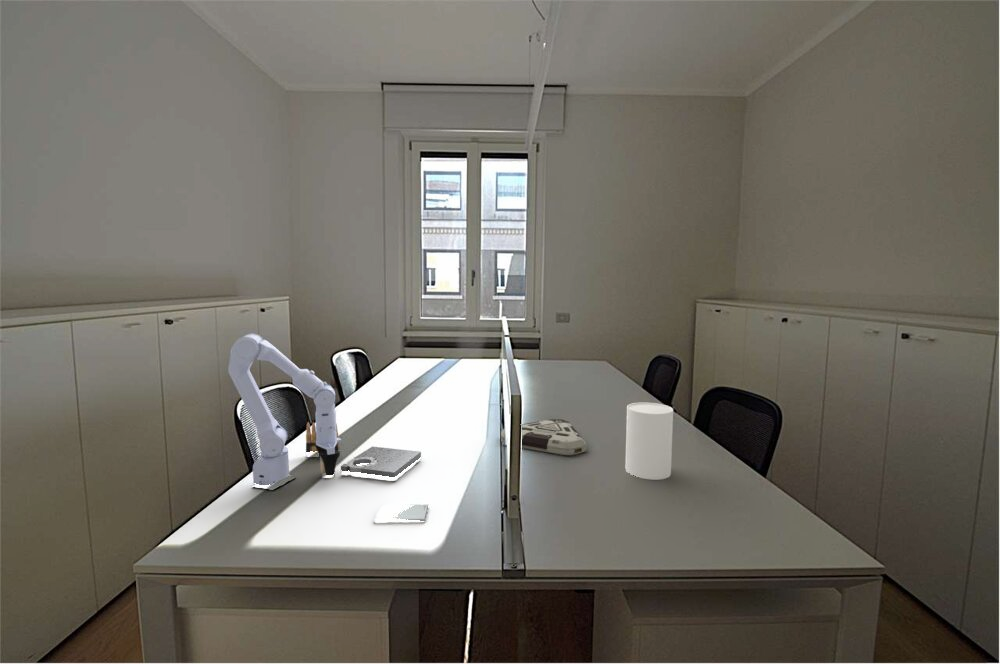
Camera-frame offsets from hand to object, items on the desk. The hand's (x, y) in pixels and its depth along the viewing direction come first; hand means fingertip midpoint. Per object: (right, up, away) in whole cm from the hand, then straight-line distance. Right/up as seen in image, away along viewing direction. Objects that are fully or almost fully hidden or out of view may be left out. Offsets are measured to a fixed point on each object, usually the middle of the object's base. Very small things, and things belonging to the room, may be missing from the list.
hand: (327, 470), depth 147 cm
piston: (0, -2, 0) cm, 2 cm away
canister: (+98, -2, +4) cm, 98 cm away
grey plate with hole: (+15, -1, +7) cm, 16 cm away
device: (+70, +1, +34) cm, 78 cm away
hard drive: (+27, -5, -24) cm, 37 cm away
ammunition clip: (-8, 0, +17) cm, 19 cm away
